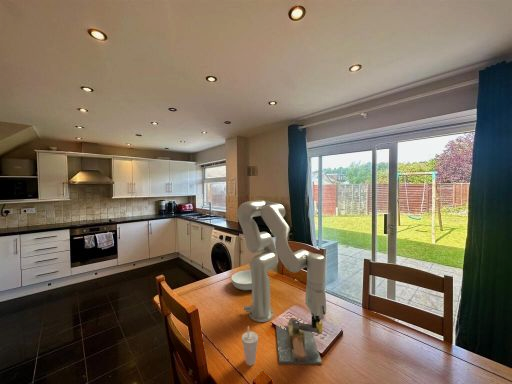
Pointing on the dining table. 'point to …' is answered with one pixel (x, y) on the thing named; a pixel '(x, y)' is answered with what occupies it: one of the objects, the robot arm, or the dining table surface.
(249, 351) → the smoothie
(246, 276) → the serving bowl
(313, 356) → the valve body
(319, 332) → the lever
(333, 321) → the dining table surface
